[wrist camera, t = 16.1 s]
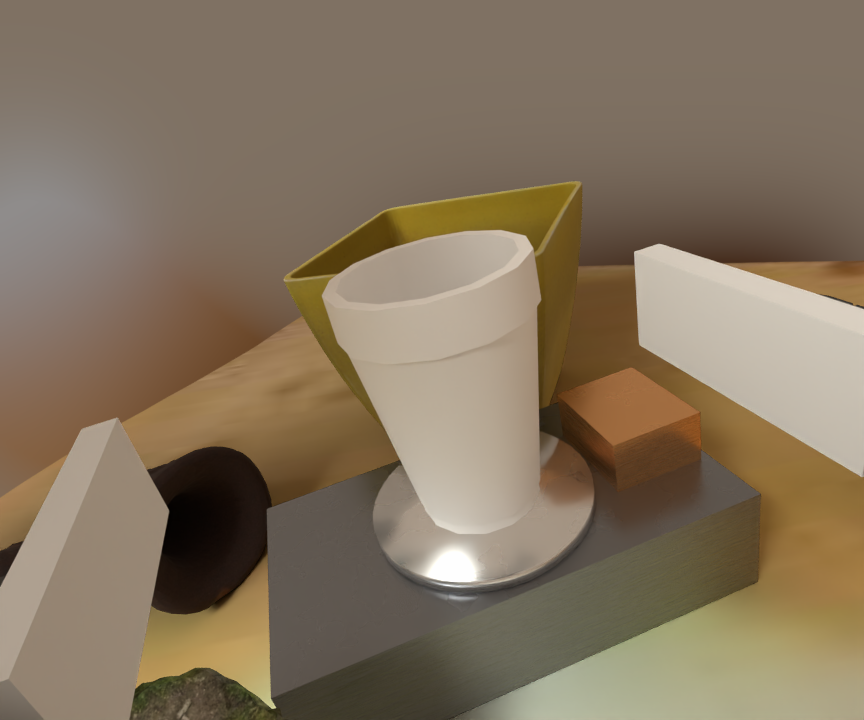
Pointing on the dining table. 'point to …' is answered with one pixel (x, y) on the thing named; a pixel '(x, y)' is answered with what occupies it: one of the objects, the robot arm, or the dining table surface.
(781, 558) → the dining table surface
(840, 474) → the dining table surface
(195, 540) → the pipe
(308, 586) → the block
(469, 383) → the foam cup
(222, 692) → the moss-covered rock
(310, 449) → the dining table surface
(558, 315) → the flower pot
